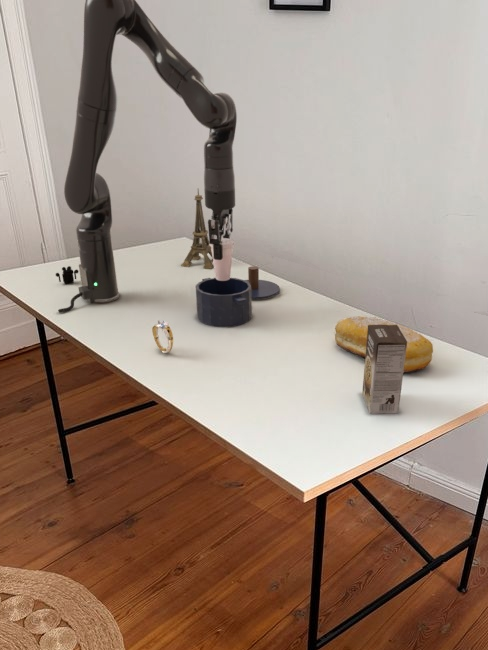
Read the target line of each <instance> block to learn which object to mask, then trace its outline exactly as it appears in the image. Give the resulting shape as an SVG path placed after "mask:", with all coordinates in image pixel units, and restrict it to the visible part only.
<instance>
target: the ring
mask: <svg viewBox="0 0 488 650" xmlns="http://www.w3.org/2000/svg"><path fill="white" fill-rule="evenodd" d="M169 325H170V324H169V322H168V321H165V319H162V321H160V319H159V320H157V323H156V324H154V325H153V326H152V327H151V329H152V331H151V332H152V336H153V339H154V341H155V345H156V347H158V349H159V350H160V351H161V353H162V354H167V353H170V352H172V350H173V347H174V336H173V331H172V329H171V327H170V326H169ZM159 329H160V330H162V332H163V333H164V334H165V336H166V339H167V348H166V347H164V346H163V345H162V343H161V341H160V338H159Z"/></svg>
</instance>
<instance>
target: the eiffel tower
mask: <svg viewBox="0 0 488 650" xmlns="http://www.w3.org/2000/svg"><path fill="white" fill-rule="evenodd" d="M203 199H204V197H203V195H200V189H197V194H196V195H195V196H194V198H193V200H194V201H196V202H195V220H194V231H192V235H193V238H192V244H191V246H190V250H189V251H188V253H187V256H185V259H184V260H183V262H182V263H181V264H180V266H181V267H188V268H189V267H190V266H192V265H193V263H192V260H197V261H198V260H200V258H201V255H202V256H203V262H204V265H203V269H207V270H212V269H213V268H214V264H213V257H212V251H211V246H210V245H209V244H210V243H209V229H207V228H206V223H205V217H204V211H203V205H202V200H203ZM200 240H201V241H200ZM200 254H201V255H200ZM208 254H209V256H210V257H211V259H210V257H209V256H208Z"/></svg>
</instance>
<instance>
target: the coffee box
mask: <svg viewBox="0 0 488 650" xmlns="http://www.w3.org/2000/svg"><path fill="white" fill-rule="evenodd" d="M406 349H407V341H406V339H405V337H404V336H403V334H402V332H401V331H400V329H399V327H398V326H397V325H368V332H367V344H366V356H365V358H364V368H363V381H362V393H361V395H362V397H363V400H364V402H365V405H366V407H367V410H368V413H369V414H371V415H373V414H375V415H376V414H377V415H378V414H398V413H399V409H400V400H401V393H402V387H403V386H402V385H403V380H404V373H405V372H404V365H405V357H406Z"/></svg>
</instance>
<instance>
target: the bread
mask: <svg viewBox="0 0 488 650" xmlns="http://www.w3.org/2000/svg"><path fill="white" fill-rule="evenodd" d="M368 325H397V326H398V327H399V329H400V331H401V332H402V334H403V336H404V337H405V339H406V341H407V349H406V357H405V365H404V372H403V373H407V372H417V371H418V372H419V371H420V370H424V369H425V368H426V367H427V366H428V365H430V363H431V362H432V360H433V353H434V346H433V345H434V344H433V343H432V341H430V340H429V339H428V338H427V337H425V336H424V335H422V334H420V333H418V332H417V331H414V330H412V329H411V328H408V327H406V326H404V325H401V324H399V323H395V322H393V321H389V320H384V319H381V318H378V317H377V316H374V317H373V316H369V317H368V316H359V315H356V316H350V317H349V316H348V317H346V318H343V319H341V320H339V321H338V322H337V323H336V324H335V327H334V331H335V332H334V340H335V343H336V345H337V346H338V347H340V348H341V349H343V350H345V351H346V352H350V353H352V354H355V355H357V356H359V357H361V358H363V359H365V356H366V344H367V332H368Z"/></svg>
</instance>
